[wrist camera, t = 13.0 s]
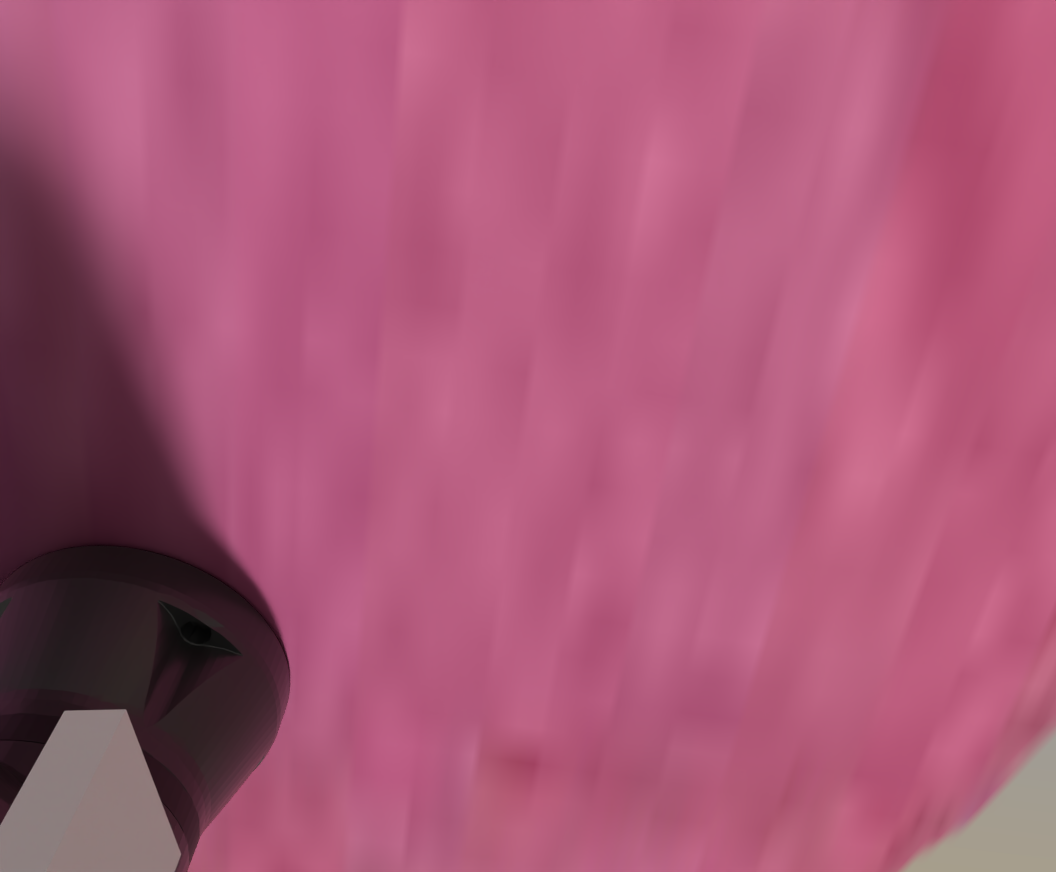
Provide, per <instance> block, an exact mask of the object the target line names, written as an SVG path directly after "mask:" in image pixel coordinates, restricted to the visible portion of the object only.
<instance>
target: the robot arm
mask: <svg viewBox="0 0 1056 872" xmlns="http://www.w3.org/2000/svg"><path fill="white" fill-rule="evenodd" d="M289 693H290V675H289V669H288V665H287V661H286V658H285V655H284V652H283V650H282V647H281V645H280V643H279V641H278V639H277V638H276V636H275V634H274V633H273V631H272V630H271V628H270V627H269V625H268V624H267V623H266V621H265V620H264V619H263V618H262V617H261V615H260V614H259V613H258V612H257V611H256V610H255V609H254V608H253V607H252V606H251V605H250V604H249V603H248V602H247V601H246V600H244V599H243V598H242V597H241V596H240V595H239V594H237V593H236V592H235V591H233V590H232V589H231V588H229V587H228V586H226V585H225V584H223V583H222V582H220V581H219V580H217V579H215V578H214V577H212V576H210V575H209V574H207V573H205V572H203V571H201V570H199V569H197V568H195V567H193V566H190V565H188V564H186V563H183V562H181V561H178V560H176V559H173V558H170V557H167V556H164V555H160V554H156V553H153V552H148V551H144V550H139V549H133V548H127V547H117V546H83V547H74V548H68V549H63V550H58V551H55V552H51V553H48V554H45V555H43V556H40V557H38V558H36V559H34V560H31V561H29V562H28V563H26V564H24V565H23V566H21V567H20V568H18V569H17V570H16V571H14V572H13V573H12V574H11V575H10V576H9V577H8V578H7V579H6V580H5V581H4V582H3V583H2V584H1V586H0V872H187V870H188V867H189V865H190V862H191V860H192V857H193V854H194V852H195V849H196V846H197V844H198V841H199V839H200V836H201V834H202V833H203V832H204V830H205V829H206V828H207V827H208V826H209V824H210V823H211V822H212V821H213V820H214V818H215V817H216V816H217V815H218V814H219V813H220V811H221V810H222V809H223V808H224V807H225V805H226V804H227V803H228V802H229V801H230V799H231V798H232V797H233V796H234V794H235V793H236V792H237V791H238V789H239V788H240V787H241V786H242V784H243V783H244V782H245V781H246V779H247V778H248V777H249V776H250V774H251V773H252V772H253V771H254V770H255V769H256V768H257V766H258V765H259V764H260V763H261V762H262V760H263V759H264V758H265V756H266V755H267V753H268V752H269V750H270V748H271V746H272V744H273V743H274V740H275V738H276V736H277V733H278V730H279V727H280V724H281V721H282V718H283V715H284V712H285V709H286V706H287V703H288V699H289Z"/></svg>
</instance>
